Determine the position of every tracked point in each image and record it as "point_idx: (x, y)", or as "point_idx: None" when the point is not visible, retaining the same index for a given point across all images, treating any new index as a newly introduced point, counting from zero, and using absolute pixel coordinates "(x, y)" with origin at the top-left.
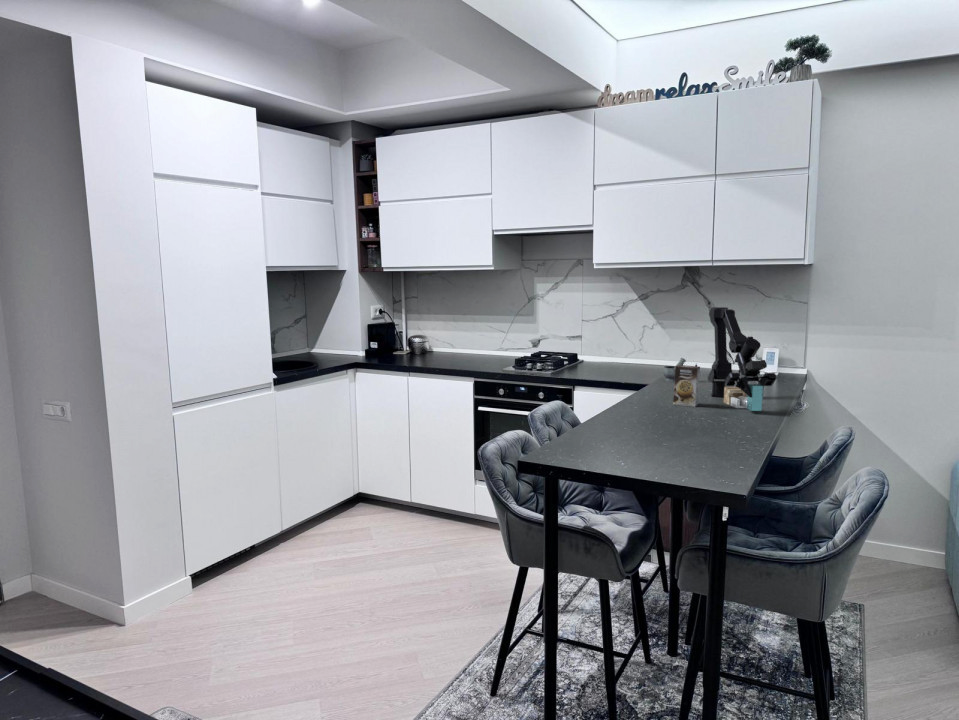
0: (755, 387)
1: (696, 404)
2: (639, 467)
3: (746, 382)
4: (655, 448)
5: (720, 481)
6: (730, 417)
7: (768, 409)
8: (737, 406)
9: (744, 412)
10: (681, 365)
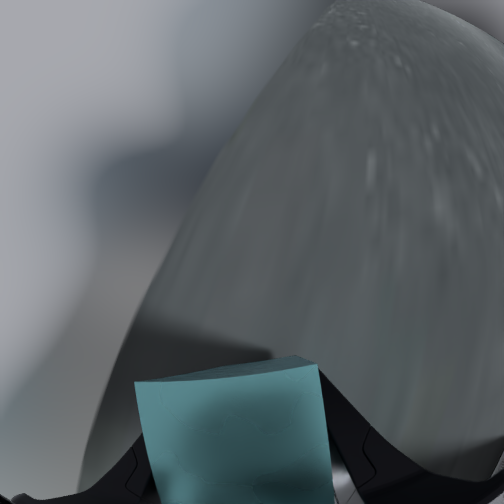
0: (269, 369)
1: (499, 465)
2: (442, 13)
3: (396, 495)
4: (460, 37)
5: None
6: (421, 229)
7: None
8: None
9: None
10: None
